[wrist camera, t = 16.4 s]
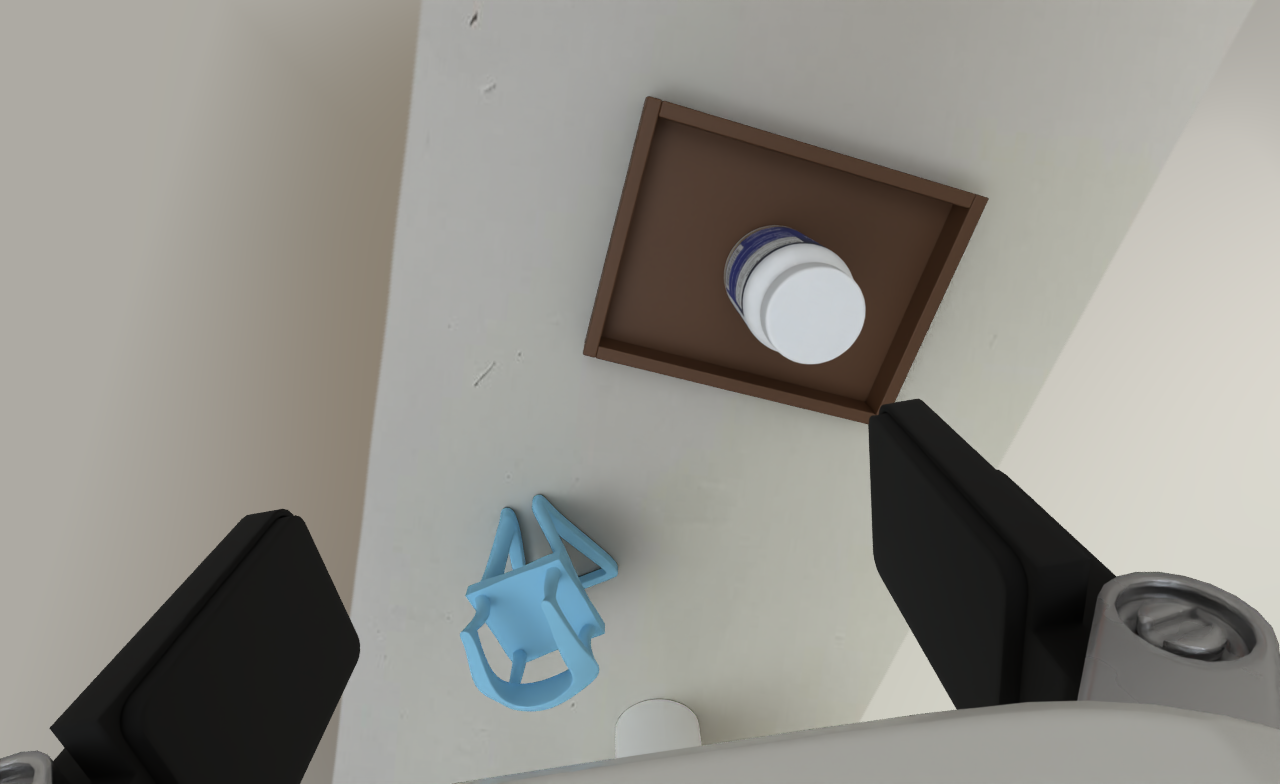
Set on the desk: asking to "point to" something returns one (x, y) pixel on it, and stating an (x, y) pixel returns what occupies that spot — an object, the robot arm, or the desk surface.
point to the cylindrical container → (656, 728)
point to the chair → (537, 611)
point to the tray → (742, 202)
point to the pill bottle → (794, 294)
